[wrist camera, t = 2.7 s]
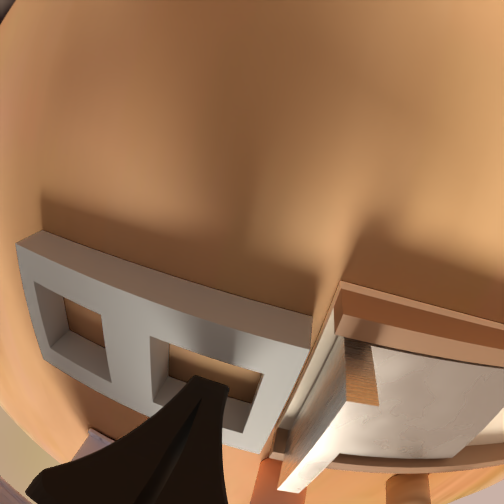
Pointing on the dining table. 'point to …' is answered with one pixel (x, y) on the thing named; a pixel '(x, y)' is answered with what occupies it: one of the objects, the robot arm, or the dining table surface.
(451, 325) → the pattern tray
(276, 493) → the terracotta peg
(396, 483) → the birch peg
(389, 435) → the cover
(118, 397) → the socket board
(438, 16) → the dining table surface
